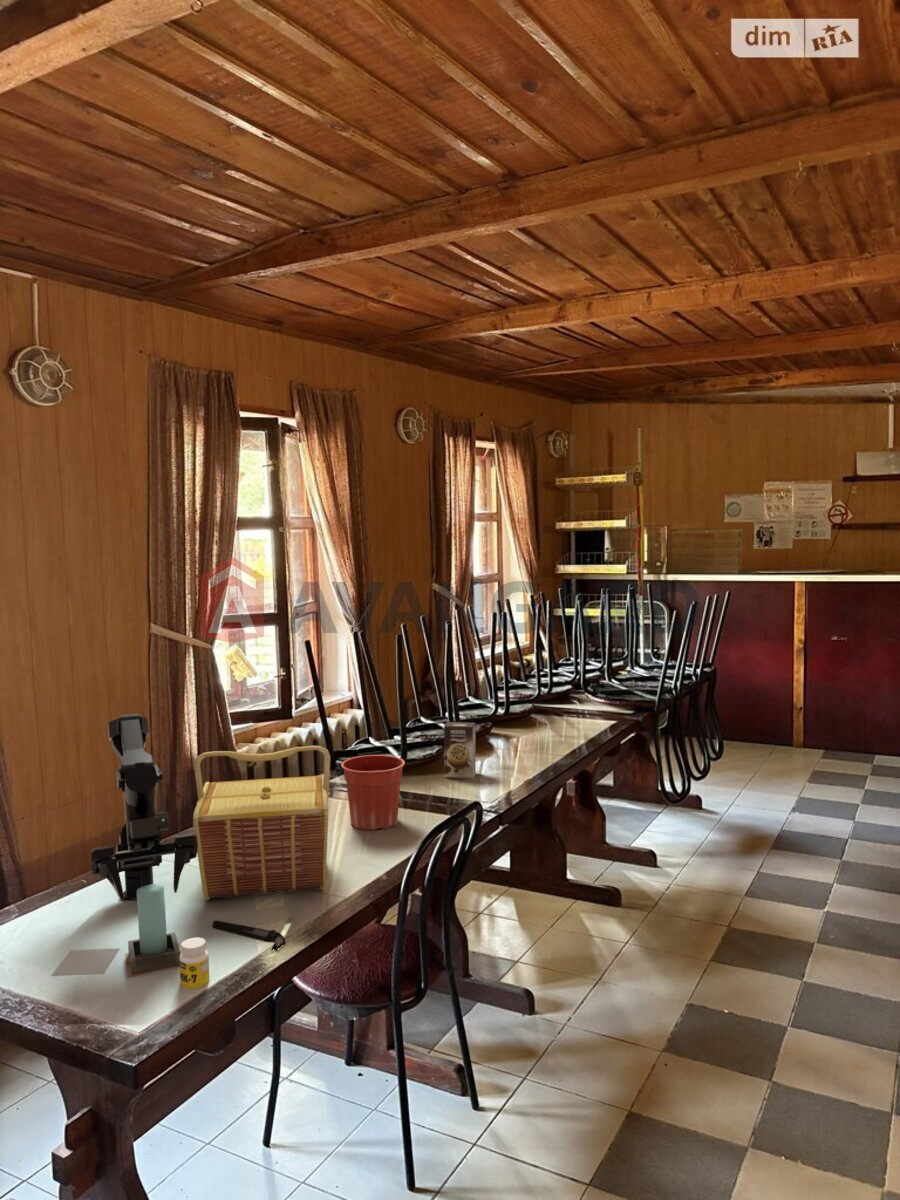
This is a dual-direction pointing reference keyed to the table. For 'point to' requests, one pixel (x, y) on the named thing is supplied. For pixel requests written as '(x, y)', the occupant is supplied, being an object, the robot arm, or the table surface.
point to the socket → (152, 958)
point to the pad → (86, 962)
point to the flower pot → (373, 790)
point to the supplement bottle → (194, 963)
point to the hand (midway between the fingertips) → (149, 896)
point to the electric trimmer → (251, 933)
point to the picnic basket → (262, 830)
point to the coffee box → (459, 749)
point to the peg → (151, 920)
